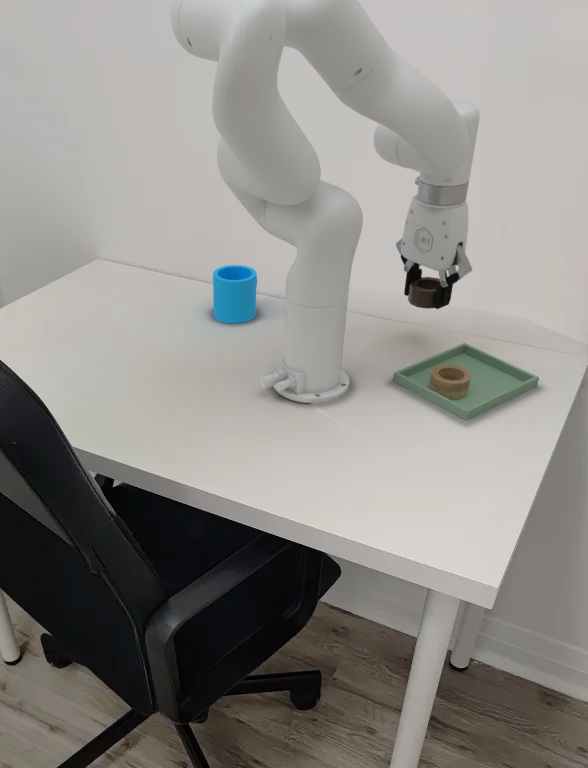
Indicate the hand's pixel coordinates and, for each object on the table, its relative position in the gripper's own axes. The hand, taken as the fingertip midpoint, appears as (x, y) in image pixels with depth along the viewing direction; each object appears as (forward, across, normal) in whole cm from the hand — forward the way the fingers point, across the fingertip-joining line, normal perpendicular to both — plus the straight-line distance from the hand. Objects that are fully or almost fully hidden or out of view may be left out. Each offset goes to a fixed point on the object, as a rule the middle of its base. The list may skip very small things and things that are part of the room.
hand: (426, 298), depth 132 cm
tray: (+9, +14, -5) cm, 18 cm away
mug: (+8, -31, -17) cm, 36 cm away
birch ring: (+8, +14, -9) cm, 19 cm away
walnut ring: (0, 0, 0) cm, 0 cm away
